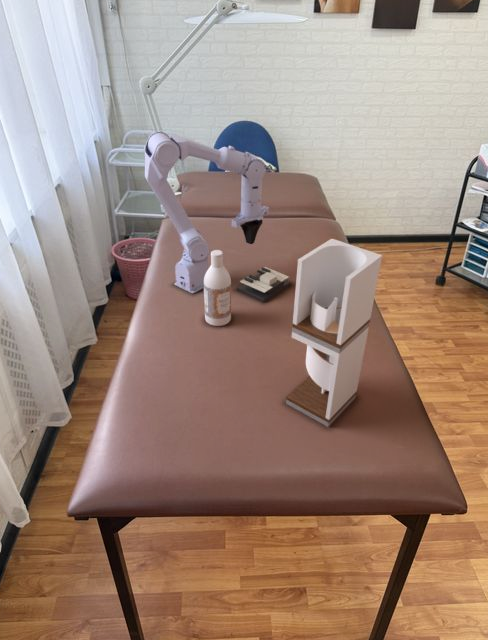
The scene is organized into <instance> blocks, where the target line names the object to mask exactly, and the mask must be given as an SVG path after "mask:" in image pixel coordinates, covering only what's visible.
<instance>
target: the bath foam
mask: <svg viewBox="0 0 488 640" xmlns="http://www.w3.org/2000/svg"><path fill="white" fill-rule="evenodd" d="M203 300H204V301H203V303H204V304H203V305H204V320H205V322H206V323H207V324H209V325H210V326H214V327H222V326H226V325H228V324H229V323H230V321H232V280H231V275H230V272H229V271H228V270H227V268H226V267H225V266H224V253H223V251H222V250H220V249H214V250H212V251H210V266H208V270H207V272H206V274H205V277H204V288H203Z"/></svg>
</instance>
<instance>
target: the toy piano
mask: <svg viewBox="0 0 488 640" xmlns="http://www.w3.org/2000/svg"><path fill="white" fill-rule="evenodd" d="M262 275H263V274H260V273H258V274H256V275H255V277H257V278H258V279H257V281H260V276H262ZM291 283H292V281H290V280H288V279H285V280H284V281H282V282H280V281H278V280H277V282H276V283H274V284H272V285H271V287H273V288H271V289H270V290H268V289H267V290H268V291H266V292H265V293H264V292H262V291H259V290H257V289H255V288H253V287H250V286H248V285H246V284H244V283H241V284H239V285H238V286H236V291H237V292H239V293H240V294H243V295H246V296H247V297H249V298H252V299H253V300H256V301H258V302H259V303H263V304H264V303H266V302H268V301H269V300H270V299H272V298H273V297H275V296H277V295H278V294H280V293H281V292H282V291H284V290H286V289H287V288H289V287H290V286H291ZM258 286H259V285H258Z"/></svg>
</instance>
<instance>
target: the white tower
mask: <svg viewBox="0 0 488 640" xmlns="http://www.w3.org/2000/svg"><path fill="white" fill-rule="evenodd" d="M382 259H383V255H382V254H379V253H376V252H374V251H371V250H368V249H366V248H362V247H358V246H356V245H352V244H350V243H347V242H343V241H341V240H338V239H335V238H330V239H328V240H327V241H326V242H323V243H322V244H320V245H319V246H317V247H316V248H314V249H313V250H311V251H309V252H308V253H305V254H304V255H303V256H301V257H299V258H297V266H296V267H297V269H296V270H297V271H296V279H295V280H296V281H295V290H294V292H295V293H294V302H293V303H294V304H293V314H292V315H293V316H292V326H291V338H292V339H294V340H296V341H298V342H301V343H302V344H305V345H306V352H305V353H306V354H305V368H306V371H307V374H308V377H306V378H305V379H304V380H303V381H302V382H301V383H300V384H299V385H297V386H296V387H295V388H294V389H293V390H292V391H290V393H289V394H288V395H287V396H286V399H285V404H286V405H288V406H289V407H292V408H293V409H295V410H297V411H299V412H300V413H302V414H304V415H305V416H308V417H309V418H311V419H313V420H315V421H316V422H318V423H321V424H322V425H323V426H325V427H327V428H328V427H330V426H331V424H333V423H334V422H335V421H336V419H338V417H339V416H340V415H341V414H342V413H343V412H344V411H345V410H346V408H348V407H349V405H351V404H352V402H353V401H354V400H355V399H356V398H357V392H358V387H359V381H360V377H361V376H360V375H361V370H362V367H363V361H364V355H365V351H366V344H367V339H368V333H369V328H370V323H371V318H372V313H373V308H374V301H375V298H376V297H375V296H376V291H377V286H378V285H377V284H378V281H379V274H380V270H381V265H382Z"/></svg>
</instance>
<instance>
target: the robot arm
mask: <svg viewBox="0 0 488 640" xmlns="http://www.w3.org/2000/svg"><path fill="white" fill-rule="evenodd" d="M143 150H144V177H145V180H146V182H147V183H148V185H149V186H150V188H151V190H152V191H153V193H154V195H155V196H156V198H157V200H158V202H159V203H160V205H161V206H162V208H163V210H164V211H165V213H166V214H167V216H168V218H169V219H170V221H171V223H172V224H173V226H174V228H175V229H176V231H177V233H178V236H179V241H180V244H181V246H182V247H183V251H182V257H181V259H180V260H179V261H178V262H176V263H175V266H174V272H175V282H174V283H173V285H174V286H176V287H178V288H180V289H182V290H184V291H185V292H188V293H190V294H191V295H192V294H195V293H198V292H199V291H201V290H204V277H205V274H206V272H207V270H208V269H209V256H210V254H211V247H210V244H209V243H208V242H206V240H205V239H204V237H203V235H202V234H201V232H200V231H199V230H198V229H197V228H195V226H194V224H193V222H192V221H191V219H190V218H189V216H188V214H187V212H186V210H185V209H184V207H183V205H182V203H181V202H180V201H179V199H178V197H177V195H176V193H175V192H174V189H173V188H172V186H171V185H170V183H169V181H168V179H167V178H168V176H169V173H170V171H171V170H172V169H173V168H174V166H175V165H176V164H177V162H178V161H179V160H180V161H181V162H182V161H184V160H185V159H187V158H188V157H193V158H196V159H200V160H205V161H209V162H213V163H215V165H216V167H217V169H219V170H222V171H226V172H229V173H232V174H235V175H239V176H240V175H241V183H240V186H241V188H240V191H241V192H240V212H239V214H237V216H236V217H235V218H233V219H231V227H232V228H234V229H239V228H241V230H242V232H243V235H244V239H245V243H246V244H249V245H253V244H255V241H256V238H257V235H258V232H259V230H260V228H261V226H262V224H263V219H264V215H268V214H269V213H270V207H268V206H266V205H262V193H263V191H262V190H263V184H262V183H263V178H264V177H265V175H266V173H267V168H266V166H265V163H264V162H263V160H261V159H260V158H259V157H257V156H256V155H255V154H252V153H251V152H248V151H245V152H242V151H239V150H237V149H235V147H234V146H232V145H228V147H227V146H223V147H221V148H219V149H217V148H215V147H211V146H209V145H207V144H203V143H200V142H198V141H195V140H192V139H189V138H187V137H183V136H180V135H177V134H173V133H168V134H167V133H166V132H163V131H154V132H153V133H152V132H151V134H150V135H149V136H148V138H147V139H146V143H145V144H144V147H143Z"/></svg>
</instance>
